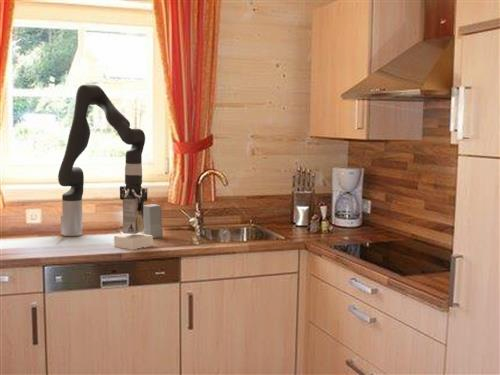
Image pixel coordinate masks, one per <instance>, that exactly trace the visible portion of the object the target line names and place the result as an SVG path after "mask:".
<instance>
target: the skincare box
mask: <svg viewBox="0 0 500 375" xmlns="http://www.w3.org/2000/svg"><path fill="white" fill-rule="evenodd" d="M162 218H163V215H162V205H161V204H160V205H159V204H156V203H151V204H143V231H144V233H143V234H146V235H152V236H153V239H156V238H164V234H163V219H162Z"/></svg>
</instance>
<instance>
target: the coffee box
mask: <svg viewBox="0 0 500 375" xmlns="http://www.w3.org/2000/svg"><path fill="white" fill-rule="evenodd" d="M138 203H139V202H138V198H136V197H133V196H128V197H124V198H123V200H122V234H137V233H141V232H143V231H144V217H143V210H142V211H138Z"/></svg>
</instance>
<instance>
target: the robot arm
mask: <svg viewBox="0 0 500 375" xmlns="http://www.w3.org/2000/svg"><path fill="white" fill-rule="evenodd" d="M95 105H96V106H97V107H99V108H100V109H101V110H103V112H104V116H105V119H106V121H107V123H108V124H109V125H110V126H111V127H112V128H113V129H114V130H115V131H116V132H117V134H118V137H120V139H121V141H122V142H123V143H124V144H126V145H131V147H130V149H129V150H126V152H125V164H124V165H125V166H124V184H125V185H121V186H119V199H120V200H122V201H123V198H124V197H128V196H133V197H136V198H138V202H139V203H138V211H142V210H143V205H144V204H145V203H146V202H148V188H147V187H142V184H143V164H142V163H143V162H142V161H143V160H142V157H143V156H142V155H143V151H144V146H145V143H146V136H145V132H144V130H142V129H141V128H131V123H130V121H129V119H127V117H125V115H124V114H122V113H121V112H120V111H119V110H118V109H117V108H116V106H115V105H114V103H112V101H111V100H110V98H109V97H108V95H107V94H106V92H105V91H104V90H103V88H101V86H99V85H97V84H81V85H80V86H78V88H77V91H76V94H75V104H74V110H73V116H72V121H71V126H70V130H69V133H68V139H67V144H66V148H65V151H64V154H63V158H62V162H61V164H60V167H59V170H58V175H57V180H58V183H59V185H60V186H62V187H70V189H69V190H68V191H66V192H64V193H62V196H61V197H62V198H61V199H62V200H61V203H62V205H61V206H62V208H61V209H62V212H61V213H62V214H61V215H60V234H61V235H62V236H64V237H77V236H78V237H79V236H82V235H83V195H84V186H85V185H84V183H85V179H84V177H85V175H84V172H83V169H82V168H81V167H80V166H74V164H75V163H76V161H77V159H78V158H79V157H80V156H81V155H82V153H83V152H84V151H85V150H86V148H87V147H88V144H89V140H90V137H91V128H90V125H89V122H88V118H87V114H88V109H89V106H95Z"/></svg>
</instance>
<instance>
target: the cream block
mask: <svg viewBox="0 0 500 375" xmlns="http://www.w3.org/2000/svg"><path fill="white" fill-rule="evenodd" d="M113 240H114V244H113V246H114V247H116V246H117V248H121V247H122V249H126V248H127V250H131V249H132V250H131V251H134V249H135V250H138V249H137V248H140V249H142V248H141V247H144V248H148V247H152V246H153V243H154V241H153V240H154V238H153V236H152V235H146V234H144V233H141V232H139V233H137V234H127V233H122V234H117V235H114V239H113Z"/></svg>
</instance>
